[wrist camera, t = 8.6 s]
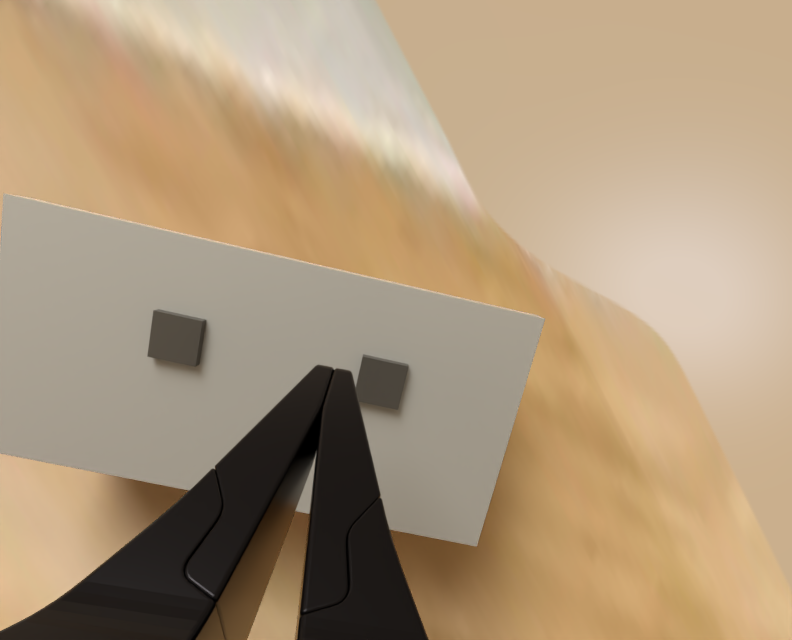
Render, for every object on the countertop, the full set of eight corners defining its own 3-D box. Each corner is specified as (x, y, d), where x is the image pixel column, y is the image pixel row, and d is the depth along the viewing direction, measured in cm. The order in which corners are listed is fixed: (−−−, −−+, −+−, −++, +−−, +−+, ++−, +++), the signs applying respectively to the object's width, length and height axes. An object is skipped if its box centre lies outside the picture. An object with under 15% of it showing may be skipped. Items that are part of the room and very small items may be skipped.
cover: (472, 531, 16) (478, 552, 15) (8, 440, 15) (-22, 455, 14) (536, 315, 14) (548, 320, 13) (26, 196, 13) (-6, 191, 12)
